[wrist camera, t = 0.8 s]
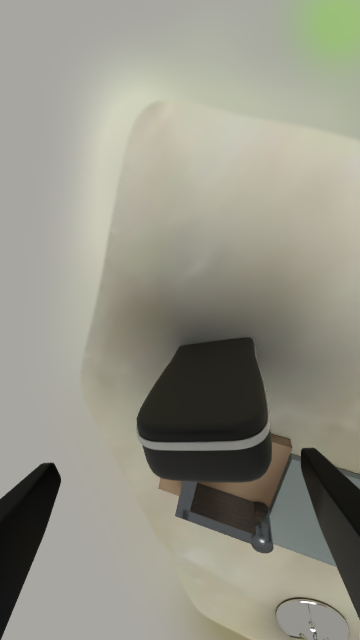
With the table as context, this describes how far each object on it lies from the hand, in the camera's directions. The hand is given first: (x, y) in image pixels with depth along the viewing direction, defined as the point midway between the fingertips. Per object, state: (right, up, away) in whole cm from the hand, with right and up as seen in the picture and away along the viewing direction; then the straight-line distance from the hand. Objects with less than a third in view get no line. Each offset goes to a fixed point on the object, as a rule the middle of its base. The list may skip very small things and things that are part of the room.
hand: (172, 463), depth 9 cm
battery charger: (+4, +2, +13) cm, 14 cm away
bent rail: (+5, -10, +15) cm, 18 cm away
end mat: (+14, -14, +15) cm, 25 cm away
